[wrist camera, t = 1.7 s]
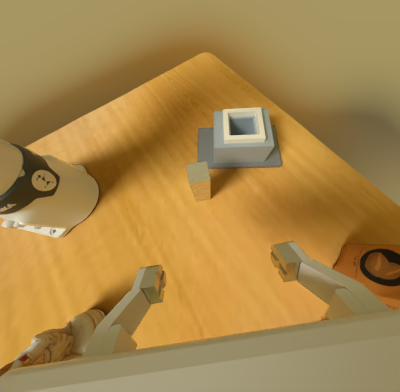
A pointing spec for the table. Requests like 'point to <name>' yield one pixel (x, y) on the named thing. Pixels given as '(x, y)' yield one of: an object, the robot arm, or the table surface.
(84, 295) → the table surface
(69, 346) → the figurine
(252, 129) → the block
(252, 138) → the frame
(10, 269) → the table surface
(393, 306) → the coffee package
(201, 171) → the shaft
